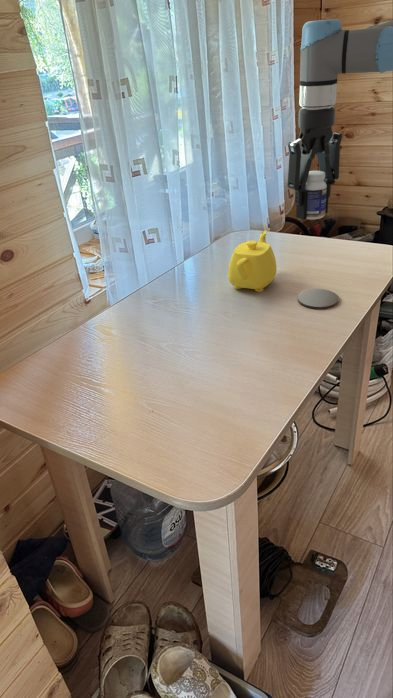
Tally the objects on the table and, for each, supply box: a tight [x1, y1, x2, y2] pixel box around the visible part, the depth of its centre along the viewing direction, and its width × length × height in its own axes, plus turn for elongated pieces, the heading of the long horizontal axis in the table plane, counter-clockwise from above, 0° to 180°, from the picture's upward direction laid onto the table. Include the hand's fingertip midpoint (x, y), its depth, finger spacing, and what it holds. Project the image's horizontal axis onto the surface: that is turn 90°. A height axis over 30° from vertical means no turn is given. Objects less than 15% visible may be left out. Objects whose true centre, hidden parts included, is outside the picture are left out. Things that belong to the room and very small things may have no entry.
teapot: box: [227, 230, 277, 293], centre depth 123 cm, size 18×11×11 cm, turn 154°
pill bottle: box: [305, 170, 327, 221], centre depth 118 cm, size 6×6×10 cm
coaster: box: [297, 288, 340, 310], centre depth 116 cm, size 9×9×1 cm
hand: (311, 214), depth 120 cm, fingers closed on pill bottle, 6 cm apart
